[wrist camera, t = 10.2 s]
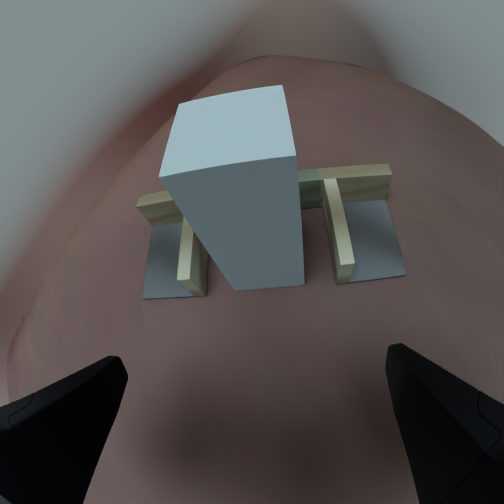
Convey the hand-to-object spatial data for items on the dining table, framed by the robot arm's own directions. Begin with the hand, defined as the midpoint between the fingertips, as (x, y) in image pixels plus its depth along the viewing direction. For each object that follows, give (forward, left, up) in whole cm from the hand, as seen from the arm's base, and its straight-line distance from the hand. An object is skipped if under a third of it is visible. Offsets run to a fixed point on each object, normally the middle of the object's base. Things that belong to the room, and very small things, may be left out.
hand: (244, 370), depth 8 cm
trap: (+4, -7, -8) cm, 12 cm away
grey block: (+4, -7, -8) cm, 12 cm away
